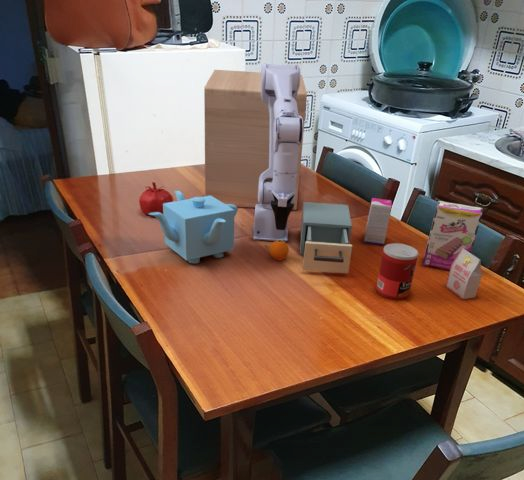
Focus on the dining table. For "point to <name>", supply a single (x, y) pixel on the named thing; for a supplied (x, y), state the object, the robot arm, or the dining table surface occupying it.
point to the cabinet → (324, 218)
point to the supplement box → (378, 221)
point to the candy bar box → (451, 233)
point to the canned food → (396, 270)
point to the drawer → (327, 249)
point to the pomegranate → (154, 199)
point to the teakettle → (197, 226)
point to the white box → (465, 275)
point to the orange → (279, 249)
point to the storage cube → (239, 136)
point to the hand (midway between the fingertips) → (280, 224)
